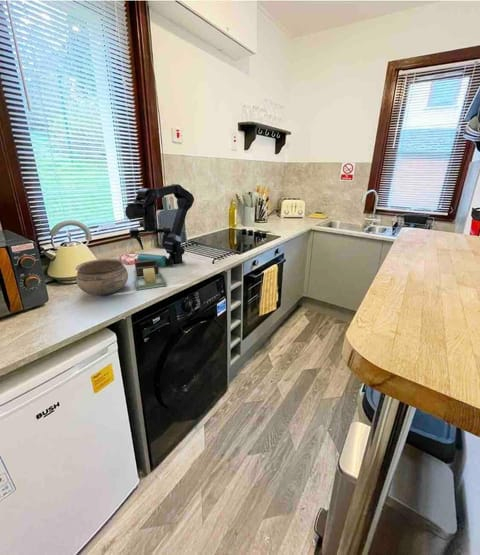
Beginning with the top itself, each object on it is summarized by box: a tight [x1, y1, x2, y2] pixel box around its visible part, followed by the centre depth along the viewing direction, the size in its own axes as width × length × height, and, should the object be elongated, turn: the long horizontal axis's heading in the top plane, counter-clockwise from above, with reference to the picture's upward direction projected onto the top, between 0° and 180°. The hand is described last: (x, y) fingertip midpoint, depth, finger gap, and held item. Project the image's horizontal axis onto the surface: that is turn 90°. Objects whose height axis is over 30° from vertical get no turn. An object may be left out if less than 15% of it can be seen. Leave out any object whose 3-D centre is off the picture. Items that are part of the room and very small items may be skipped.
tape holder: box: [134, 260, 160, 277], centre depth 134 cm, size 14×10×5 cm
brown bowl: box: [75, 258, 129, 297], centre depth 111 cm, size 25×19×12 cm
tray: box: [134, 273, 167, 292], centre depth 122 cm, size 12×11×2 cm
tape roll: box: [143, 268, 157, 285], centre depth 120 cm, size 7×5×7 cm, turn 23°
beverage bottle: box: [136, 253, 174, 268], centre depth 144 cm, size 6×7×20 cm
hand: (152, 249), depth 132 cm, fingers open, 9 cm apart
